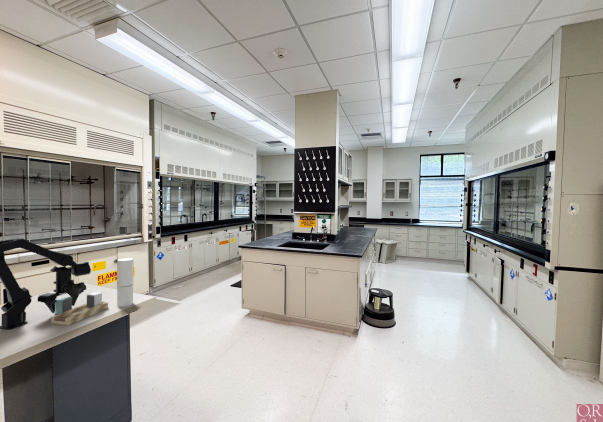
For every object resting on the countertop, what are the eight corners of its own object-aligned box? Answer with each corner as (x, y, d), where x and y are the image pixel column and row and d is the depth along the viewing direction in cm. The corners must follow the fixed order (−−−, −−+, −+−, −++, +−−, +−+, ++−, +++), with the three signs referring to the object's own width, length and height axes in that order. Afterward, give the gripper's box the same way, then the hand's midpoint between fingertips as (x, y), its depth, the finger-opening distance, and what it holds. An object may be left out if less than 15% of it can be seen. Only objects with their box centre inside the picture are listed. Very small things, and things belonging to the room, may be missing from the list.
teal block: (55, 313, 126) (55, 299, 125) (65, 309, 130) (65, 296, 130) (62, 314, 125) (62, 300, 125) (72, 310, 130) (72, 297, 129)
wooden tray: (67, 325, 114) (67, 319, 114) (51, 323, 116) (51, 317, 116) (108, 307, 134) (108, 302, 134) (93, 306, 135) (93, 300, 135)
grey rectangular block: (93, 309, 128) (93, 295, 128) (86, 308, 129) (86, 294, 129) (101, 305, 133) (102, 292, 133) (94, 304, 133) (94, 291, 133)
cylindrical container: (128, 300, 144) (129, 257, 143) (135, 303, 140) (136, 259, 140) (114, 304, 138) (115, 259, 137) (120, 307, 134) (121, 261, 134)
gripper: (56, 285, 117) (56, 319, 117) (95, 274, 135) (95, 303, 136) (36, 283, 118) (36, 316, 119) (77, 273, 137) (77, 301, 137)
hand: (63, 309), depth 128 cm, fingers open, 9 cm apart
